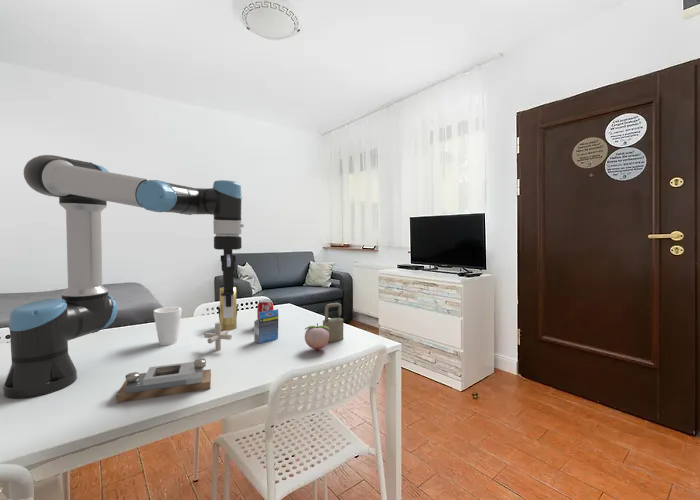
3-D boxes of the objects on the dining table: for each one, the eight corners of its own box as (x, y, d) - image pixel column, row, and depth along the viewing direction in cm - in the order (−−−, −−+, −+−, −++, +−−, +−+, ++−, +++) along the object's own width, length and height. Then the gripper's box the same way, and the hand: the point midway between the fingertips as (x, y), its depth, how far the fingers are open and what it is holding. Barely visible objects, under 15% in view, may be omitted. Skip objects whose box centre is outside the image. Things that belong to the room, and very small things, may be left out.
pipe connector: (222, 355, 117) (222, 327, 117) (197, 353, 119) (196, 325, 119) (237, 346, 127) (237, 320, 127) (214, 344, 129) (213, 318, 129)
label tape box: (273, 336, 139) (273, 307, 138) (278, 339, 136) (278, 309, 135) (254, 341, 133) (253, 310, 132) (259, 344, 130) (259, 312, 129)
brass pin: (220, 331, 96) (219, 289, 95) (220, 326, 100) (219, 286, 99) (236, 329, 97) (236, 288, 97) (236, 325, 102) (235, 286, 101)
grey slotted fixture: (121, 394, 86) (121, 376, 86) (130, 380, 94) (129, 363, 94) (205, 382, 93) (205, 365, 93) (206, 369, 101) (206, 354, 101)
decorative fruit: (306, 355, 118) (306, 327, 118) (303, 347, 126) (303, 321, 126) (332, 353, 121) (332, 325, 120) (327, 345, 129) (327, 319, 128)
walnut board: (116, 403, 85) (116, 395, 85) (125, 387, 94) (125, 380, 94) (210, 388, 93) (210, 381, 93) (210, 375, 102) (210, 369, 102)
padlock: (344, 339, 136) (344, 303, 135) (326, 343, 131) (326, 305, 130) (339, 337, 139) (339, 301, 138) (321, 340, 135) (321, 303, 134)
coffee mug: (218, 325, 154) (218, 304, 154) (238, 324, 157) (238, 302, 156) (216, 333, 143) (216, 309, 142) (237, 331, 146) (237, 308, 145)
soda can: (276, 326, 154) (276, 300, 153) (265, 329, 148) (265, 303, 147) (265, 323, 158) (265, 298, 157) (254, 327, 152) (253, 301, 151)
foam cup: (186, 338, 136) (185, 306, 135) (175, 346, 126) (174, 312, 126) (162, 338, 135) (161, 306, 134) (149, 346, 126) (148, 312, 125)
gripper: (243, 236, 90) (243, 322, 92) (239, 234, 106) (239, 307, 108) (213, 236, 88) (214, 324, 89) (213, 234, 103) (214, 309, 105)
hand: (228, 315), depth 98 cm, fingers closed on brass pin, 4 cm apart
